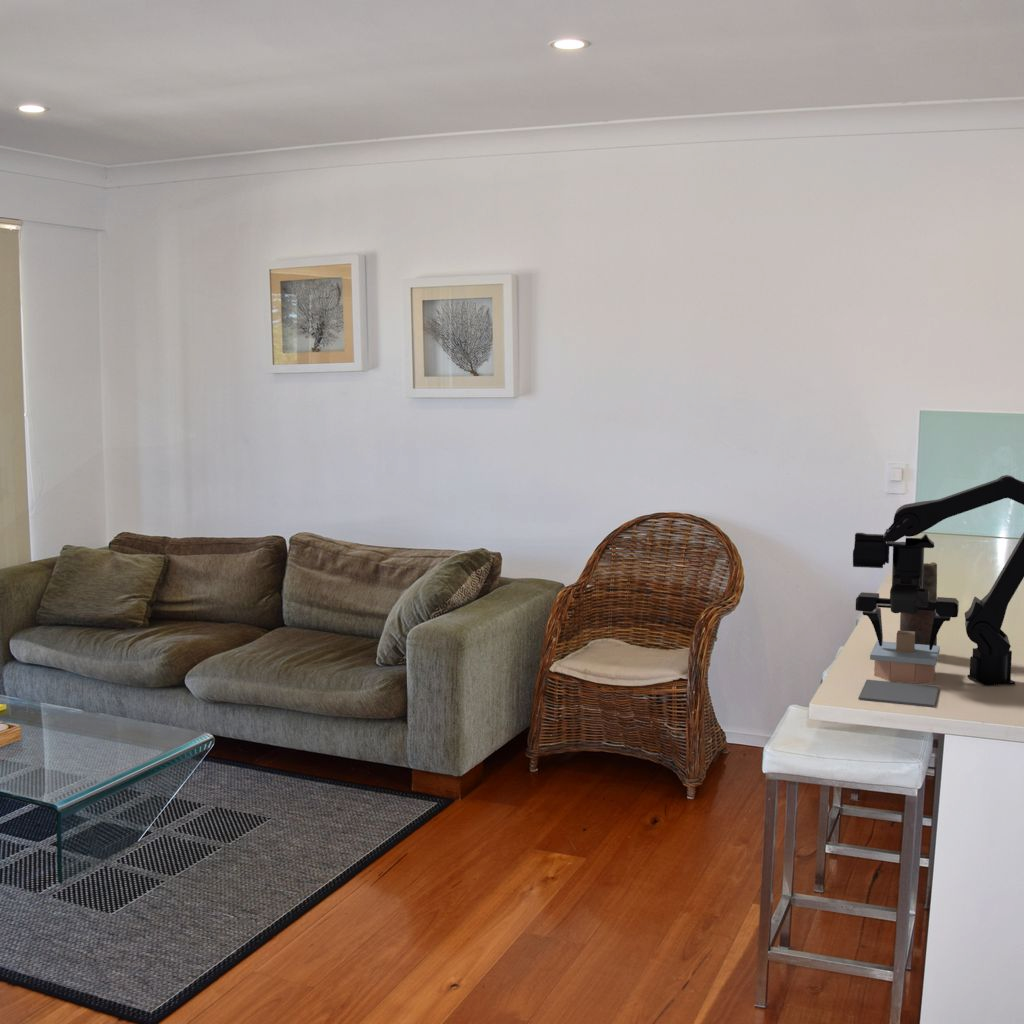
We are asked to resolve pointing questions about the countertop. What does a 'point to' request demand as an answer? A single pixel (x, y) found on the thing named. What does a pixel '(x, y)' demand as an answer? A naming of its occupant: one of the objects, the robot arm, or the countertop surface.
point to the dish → (904, 671)
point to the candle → (923, 618)
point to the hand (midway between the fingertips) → (905, 647)
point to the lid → (905, 650)
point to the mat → (899, 693)
